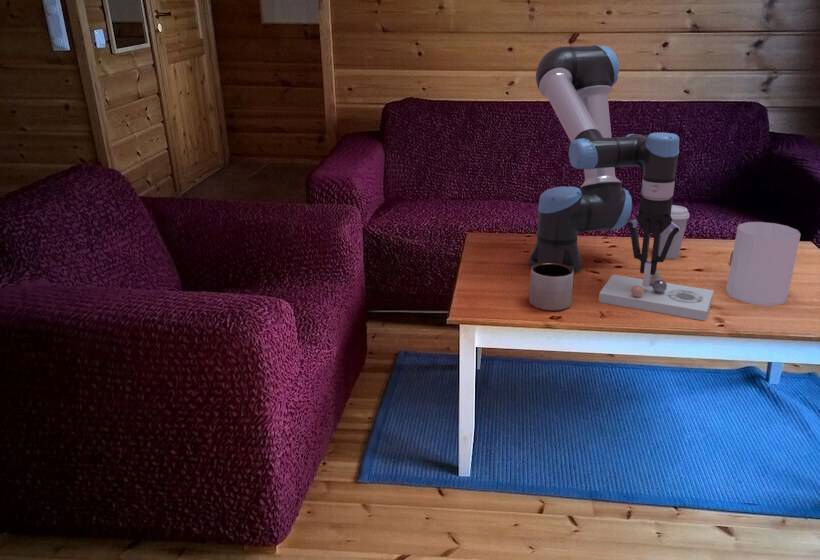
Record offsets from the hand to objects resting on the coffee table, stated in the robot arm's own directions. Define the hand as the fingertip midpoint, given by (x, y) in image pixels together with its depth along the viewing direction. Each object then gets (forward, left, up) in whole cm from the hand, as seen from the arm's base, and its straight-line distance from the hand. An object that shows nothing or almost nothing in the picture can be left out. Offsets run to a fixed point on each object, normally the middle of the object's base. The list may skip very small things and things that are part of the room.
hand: (646, 285), depth 175 cm
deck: (+3, 0, -4) cm, 5 cm away
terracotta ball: (-1, -5, 0) cm, 5 cm away
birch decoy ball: (+1, +6, 0) cm, 6 cm away
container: (+26, +16, -4) cm, 31 cm away
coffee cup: (0, +38, -4) cm, 39 cm away
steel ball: (+3, 0, 0) cm, 3 cm away
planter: (-21, -14, -4) cm, 26 cm away
